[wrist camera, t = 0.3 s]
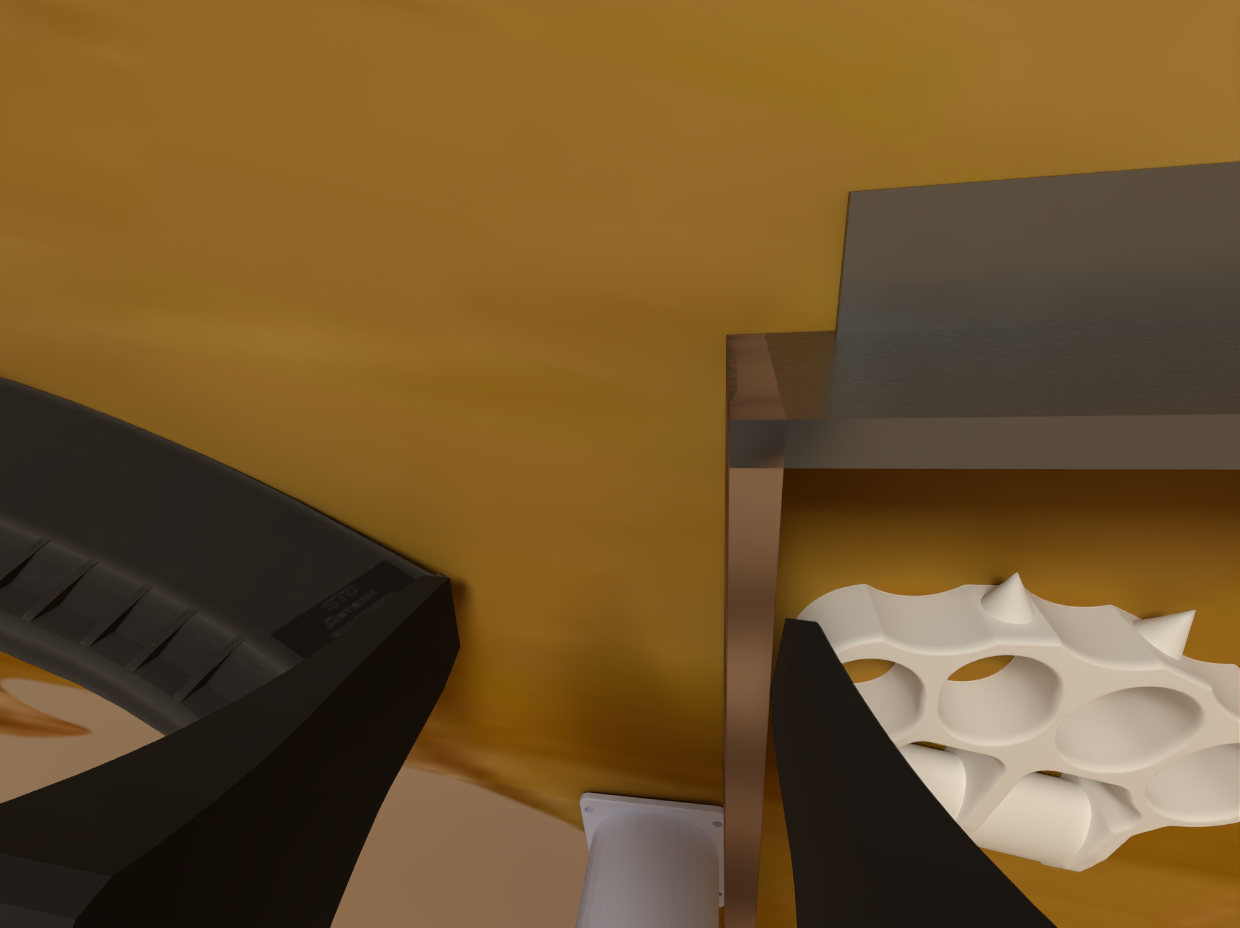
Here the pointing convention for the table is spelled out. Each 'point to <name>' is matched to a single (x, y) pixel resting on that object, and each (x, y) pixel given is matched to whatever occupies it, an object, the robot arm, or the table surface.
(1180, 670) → the white multi-hole holder
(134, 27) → the table surface
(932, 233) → the bookend
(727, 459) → the shelf wall
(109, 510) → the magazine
